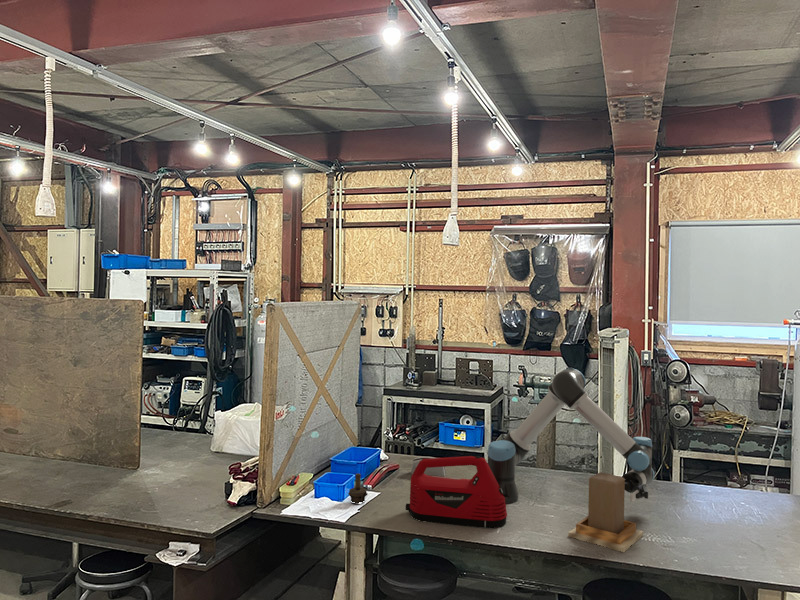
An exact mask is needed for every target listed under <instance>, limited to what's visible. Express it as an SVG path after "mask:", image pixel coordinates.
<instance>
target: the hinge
mask: <svg viewBox="0 0 800 600" xmlns="http://www.w3.org/2000/svg"><path fill="white" fill-rule="evenodd" d="M429 458H435V457H434V456H419V457H418V456H417V457H415V458H413V459H412V464H411V472H410V473H411V474H410V475H412V474H413V473H414V471H415V469H416V467H417V465H418V464H419V462H420V461H421V460H423V459H429ZM446 473H447V471H446V467H430V468H426V470H425V472H424V474H426V475H428V476H440V477H446Z"/></svg>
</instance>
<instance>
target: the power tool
mask: <svg viewBox="0 0 800 600" xmlns="http://www.w3.org/2000/svg"><path fill="white" fill-rule="evenodd" d="M463 466H475V467H476V473H475V474H474V475H473V476H472V477H471V479H470V478H458V477H450V476H430V475H426V474H424V472H425V470H426V468H430V467H445V468H446V467H463ZM506 505H507V503H505V497H504V496H503V491H502V489H501V488H500V487H499V484H498V483H497V481H496V479H495V477H494V475H493V473H492V471H491V469H490V467H489V465H488V460H486V458H484V457H482V456H481V457H480V456H478V455H477V456H473V455H469V456H468V455H466V456H449V457H447V456H445V457H434V458H429V459H423V460H421V461H420V462H419V464H418V465H417V467H416V469H415V471H414V473H413V474H411V476H410V489H409V503H405V511H408V512H409V513H410V517H411V516H412V517H413V518H415V519H417V520H416V521H418V520H420V521H419V522H423V521H426V522H425V523H433V524H443V525H452V526H460V527H461V526H462V527H470V528H481V529H495V528H501V527H504V526H505V525H506V524H507V516H508V512H507V506H506ZM412 517H411V518H412ZM413 518H412V519H413ZM415 519H414V520H415Z"/></svg>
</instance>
